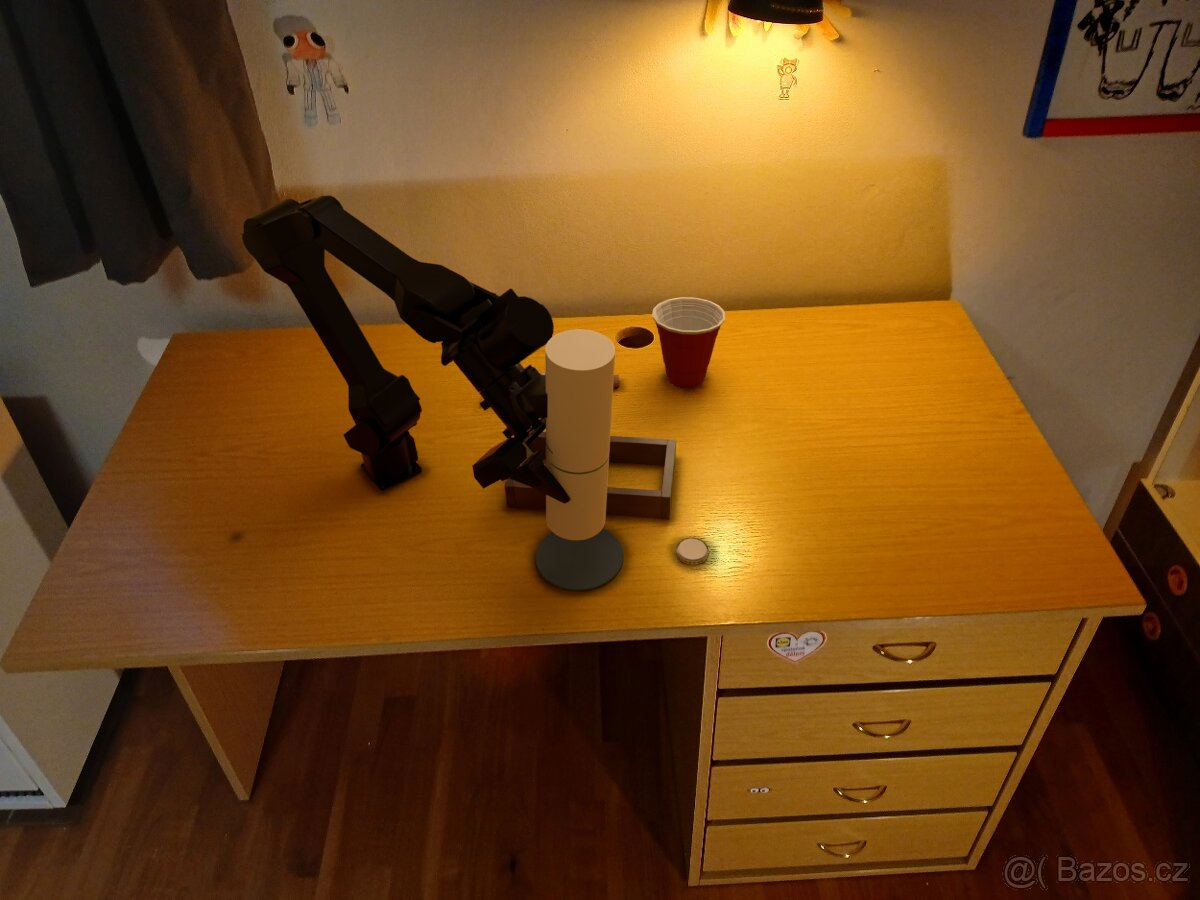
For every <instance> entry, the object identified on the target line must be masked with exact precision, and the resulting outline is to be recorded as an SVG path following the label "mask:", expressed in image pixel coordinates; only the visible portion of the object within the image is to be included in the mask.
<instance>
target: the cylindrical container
mask: <svg viewBox="0 0 1200 900" xmlns="http://www.w3.org/2000/svg"><path fill="white" fill-rule="evenodd" d="M544 353H545V372H546V393H547V394H548V415H547V418H546V429H545V432H546V458H545V466H546V467H547V468H548V470H549V471H550V472H551V473H552V475H553V476H554V477H555V478H556V480H557V481H558V482H559V483H560V484H561V486H562V487H563V488H564V490H565V491H566V493H567V494H568V496H569V497H570V501H569V502H567V503H565V504H564V503H562V502H560V501H558V500H556V499H554V498H552V497H550V496H548V495H546V510H545V521H546V525H547V527H548V528H549V530H550V531H551V533H552V532H553V533H554V534H556V535H558V536H559V537H562V538H564V539H568V540H584V539H588V538H591V537H593V536H595V535H596V534H598V533H599V532H600V531H601V530H602V528H603V529H604V527H605V524H606V517H607V515H606V501H607V487H608V483H609V467H610V465H609V464H610V463H609V451H610V436H611V434H612V433H611V431H612V430H611V429H612V416H613V415H612V413H613V395H614V387H613V381H614V375H615V362H616V361H615V360H616V347H615V344H614V343H613V340H611V339H610V338H609V337H608V336H607V335H605V334H603V333H600V332H598V331H595V330H590V329H583V328H581V329H580V328H577V329H575V328H574V329H568V330H564V331H560V332H558V333H557V334H554V335H552V338H551V339H550V340H549V341H548V342H547V344H546V345H545V352H544Z"/></svg>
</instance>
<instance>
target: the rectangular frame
mask: <svg viewBox="0 0 1200 900" xmlns="http://www.w3.org/2000/svg"><path fill="white" fill-rule="evenodd" d="M528 447H529V448H530V450H531V451H532V452H533V453H535V452H537V451H539V450H541V451H542V456H543V459H546V431H543V432H542V433H541V434H540V435H539V436H538V437H537V438H536V439H535V440H534V441H533V442H532V443H530V444H529V445H528ZM676 452H677V439H669V438H668V439H666V438H654V437H637V436H619V435H610V451H609V464H623V465H624V464H626V465H636V466H637V465H639V466H652V467H653V466H654V467H663V477H662V485H661V490H659V489H643V488H630V487H615V486H614V487H613V486H607V501H606V516H620V517H630V518H631V517H633V518H645V519H661V520H671V509H672V501H673V500H672V499H673V490H674V478H675V471H676V456H677V455H676V454H677V453H676ZM504 493H505V502H506V508H508V509H520V510H521V509H523V510H524V509H525V510H536V511H546V494H544V493H542V492H540V491H538V490H536V489H534V488H532V487H529V486H527V485H524V484H522V483H519V482H517V481H514V480H511V479H509V478H508V479H506V480H505V483H504Z"/></svg>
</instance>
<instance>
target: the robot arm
mask: <svg viewBox="0 0 1200 900" xmlns="http://www.w3.org/2000/svg"><path fill="white" fill-rule="evenodd" d="M241 239H242V243H243V246H244V248H245V250H246V251H247V253H249V254H250V255H251V257H252V258H254V260H255V261H256V262H257V264H258V265H259V267H260V268H261V269H262V270H263V272H264V273H266V274H268V275H270V276H271V277H273V278H275V279H276V280H278V281H280V282H281V283H283V284H285V285H287V287H288V288H289V289H290V291H291V293H292V294H293V296H294V298H295V299H296V301H297V302H298V304H299V306H300V307H301V309H302V311H303V313H304V315H305V316H306V318H307V319H308V321H309V322H310V325H311V326H312V328H313V329H314V331H315V332H316V334H317V336H318V337H319V339H320V341H321V342H322V344H323V346H324V348H325V349H326V351H327V353H328V354H329V356H330V358H331V359H332V361H333V362H334V364H335V366H336V368H337V369H338V371H339V372H340V374H341V376H342V378H343V379H344V381H345V383H346V384H347V389H348V390H347V391H348V392H347V394H348V399H347V400H348V401H347V402H348V405H347V406H348V412H349V415H350V416H351V419H352V420H353V422H354V425H353V427H351V428H350V429H348V430H347V431H346V432H344V434H342V435H343V438H344V440H345V441H346V443H347V446H348V447H349V448H350V449H352V450H354V451H356V452H359V453H360V454H361V457H362V458H361V459H362V461H363V463H361V464H360V469H361V470H362V471H363V472H364V473H365V475H366V476H367V477H368V478H369V479H370V481H371V482H372V483H373V484H374V485H375V486H376V488H378V489H379V491H380V492H381V491H382V492H384V491H386V490H388V489H390V488H393V487H394V486H397V485H398V484H402V483H403V482H405V481H407V480H409V479H411V478H413V477H416V476H417V475H419V474H421V473H422V472H423V468H422V466H421V465H420V464H418V461H419V454H418V449H417V445H416V441H415V438H414V437H413V435H412V434H410V430H411V429H412V428H413V427H416V426H417V425H418V422H419V420H420V419H421V415H422V414H421V413H422V412H423V408H422V405H421V402H420V400H421V398H420V396H419V395H418V394H417V392H415V390H414V388H413V387H412V385H411V383H410V380H409V378H408V377H407V376H406V375H404V374H400V375H397V374H395V373H393V372H392V371H389V370H387V369H385V367H384V366H383V365H382V364H381V362H380V360H379V358H378V357H377V355H376V353H375V351H374V349H373V348H372V346H371V345H370V342H369V340H367V337H366V336H365V334H364V332H363V331H362V329H361V327H360V326H359V324H358V321H357V320H356V319H355V317H354V315H353V313H352V311H351V310H350V308H349V306H348V305H347V303H346V301H345V299H344V298H343V296H342V294H341V292H340V291H339V288H338V287H337V285H336V284H335V282H334V280H333V279H332V277H331V275H330V273H329V272H328V270H327V268H326V252H328V253H329V254H330V255H331V256H333V257H335V258H336V259H337V260H338V261H339V262H341V263H343V264H344V265H345V266H347V267H348V268H350V269H351V270H352V271H354V272H355V273H357V274H358V275H359V276H360V277H362V278H364V279H365V280H366V281H368V283H371V284H372V285H373V286H374V287H376V289H378V290H380V291H381V292H383V293H384V294H385V295H386V296H388V297H389V298H390V299H391V301H393V302H394V305H395V308H396V310H397V313H398V316H399V318H400V319H401V320H402V321H403V322H404V323H405V324H406V325H407V326H408V327H409V328H410V329H412V330H413V331H414V333H416V334H417V335H418V336H420V337H421V338H422V339H423V340H425V341H427V342H429V343H432V344H436V343H440V344H441V345H440V346H441V355H440V363H441V365H442V366H444V367H446V366H449V364H450V363H452V362H453V363H454V364H455V365H456V366H457V368H458V369H459V370H460V372H461V373H462V374H463V376H465V378H466V379H467V380H468V381H469V382H470V384H471V385H472V386H473V388H474V389H475V390H476V391H477V393H478V394H479V395H480V396H481V398H482V399H483V400H481V402H479V406H480V407H481V408H482V409H483V411H484V412H486V411H487V410H488V409H491V410H492V411H493V413H494V414H495V415H496V416H497V418H499V420H500V421H501V422H502V423H503V425H504V426H505V428H504V429H503V430H502V431H501V433H502V434H503V435H504V437H505V438H506V439H504V440H503V441H501V442H499V443H497V444H496V445H494V446H493V447H490V449H488V450H487V451H486V452H485V453H484V454H483V455H482V456H481V457H479V459H478V460H476V462H474V463H473V464H472V465H471V466H472V467H471V468H472V472H473V479H474V480H475V481H476V482H477V483H478V485H479V486H480V487H481V488H482V489H483V490H484V489H486V488H488V487H489V486H491V485H493V484H495V483H497V482H499V481H501V482H504V481H506V479H508V478H509V479H511V480H514V481H517V482H519V483H522V484H524V485H527V486H529V487H532V488H534V489H536V490H538V491H540V492H542V493H544V494H546V495H548V496H550V497H552V498H554V499H556V500H558V501H560V502H562V503H564V504H565V503H567V502H569V501H570V497H569V496H568V494H567V493H566V491H565V490H564V488H563V487H562V486H561V484H560V483H559V482H558V481H557V480H556V478H555V477H554V476H553V475H552V473H551V472H550V471H549V470H548V468H547V467H546V464H545V463H544V458H543V456H542V451H541V450H539V451H537V452H535V453H533V452H532V451H531V450H530V448H529V447H528V445H529V444H530V443H532V442H533V441H534V440H535V439H536V438H537V437H538V436H539V435H540V434H541V433H542V432H545V431H546V418H547V415H548V394H547V393H546V375H542V374H540V373H541V372H539V370H538V369H537V368H536V367H535V366H533V365H532V364H529V365H527V366H525V367H524V366H523V364H522V363H521V362H523V361H524V360H525V359H527V358H529V357H530V356H531V355H533V354H534V353H536V352H537V351H538V350H540V349H542V348H543V347H545V346H546V344H547V342H548V341H549V340H550V339H551V338H552V337H553V336H554V329H555V326H554V321H553V317H552V314H551V313H550V311H549V310H548V308H547V307H546V305H544V304H543V303H541V302H539V301H538V300H536V299H534V298H532V297H529V296H524V295H521V296H519V295H518V294H517V293H516V291H515V290H514V289H513V288H509V289H508V290H506V291H505V292H503V293H502V294H501V295H498V294H497V293H496V292H492V291H489V290H487V289H486V288H484V287H482V286H480V285H478V284H476V283H473V282H472V281H470V280H469V279H468V278H466V277H465V276H463V275H462V274H459V273H458V272H456V271H453V270H452V269H450V268H448V267H446V266H444V265H443V264H438V263H431V262H423V261H419V260H417V259H416V258H414V257H412V256H410V255H409V254H408V253H406V252H404V251H403V250H402V249H401V248H399V247H397V246H396V245H395V244H393V243H392V242H391V241H389V240H388V239H386V238H385V237H384V236H382V235H381V234H379V233H378V232H377V231H375V230H374V229H373V228H371V227H369V226H368V225H367V224H365V223H364V222H363V221H361V220H360V219H358V218H357V217H355V216H354V215H352V214H351V213H349V212H348V211H347V210H346V209H344V207H343V205H342V204H341V202H340V201H339V200H338V199H337V198H336V197H335V196H333V195H329V194H328V195H320V196H318V197H313V198H310V199H307V200H304V201H301V202H299V201H297V200H295V199H292V198H285V199H283V200H281V201H279V202H277V203H275V204H273V205H271V206H270V207H268V208H265V209H264V210H262V211H259V212H258V213H256V214H254V215H252V216H249V217H247V219H246V220H244V222H243V233H242V234H241Z"/></svg>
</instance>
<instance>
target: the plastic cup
mask: <svg viewBox="0 0 1200 900" xmlns="http://www.w3.org/2000/svg"><path fill="white" fill-rule="evenodd" d="M652 319H653V321H654V322H655V325H656V329H657V334H658V336H659V342H660V343H659V344H660V348H661V349H660V350H661V355H662V360H663V364H664V368H665V376H666V378H667V381H668V382H669V384H670V385H672V386H673V387H675V388H678V389H681V390H691V389H695V388H698V387H699V386H702V384H703V382H704V381H705V378H706V376H707V373H708V368H709V365H710V362H711V358H712V355H713V351H714V348H715V344H716V340H717V337H718V335H719V331H720V330H721V326H722V325H723V324H724V322H725V321H726V311H725V310H724V309H723V308H722V307H721V305H719V304H717V303H715V302H712V301H711V300H709V299H703V298H699V297H688V296H687V297H686V296H681V297H675V298H669V299H668V298H667V299H666V300H663V301H661V302H659V303H657V305H655V307H654V308H653V309H652Z"/></svg>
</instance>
